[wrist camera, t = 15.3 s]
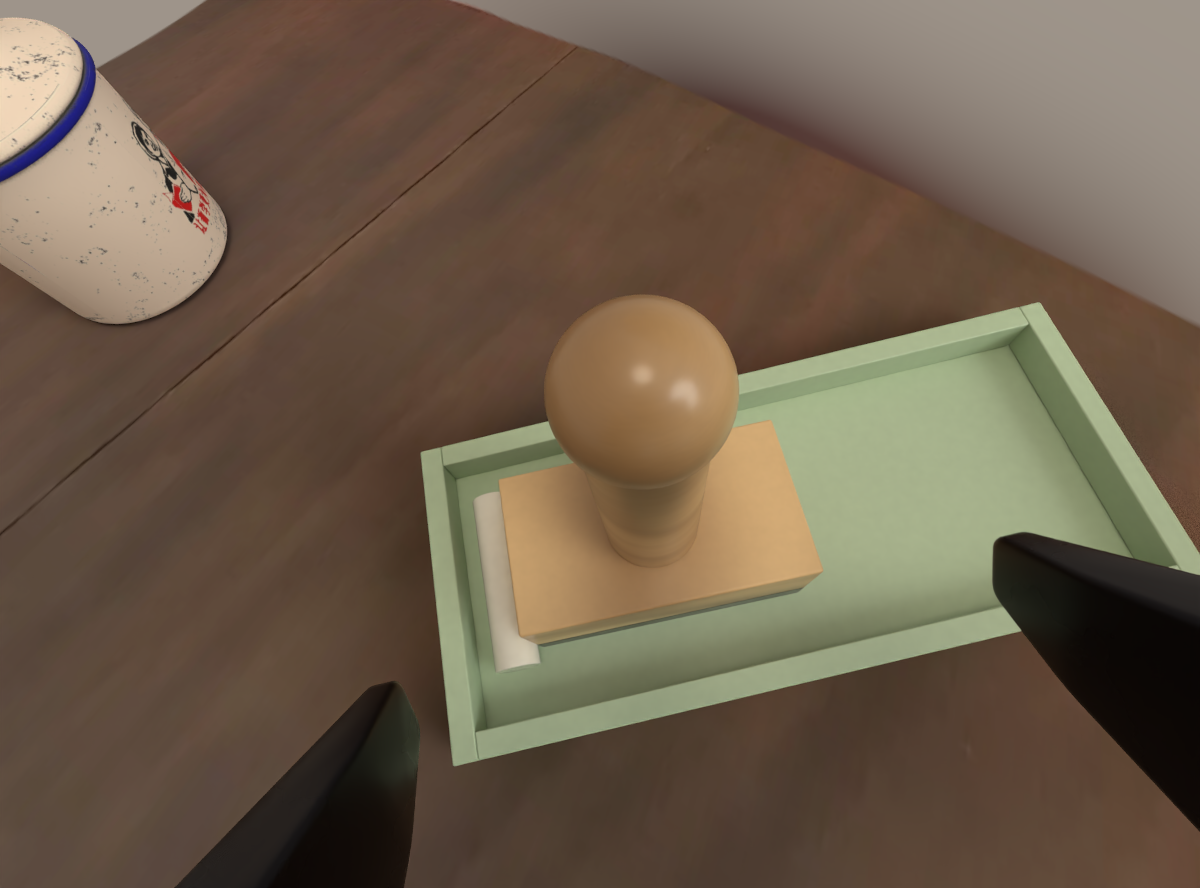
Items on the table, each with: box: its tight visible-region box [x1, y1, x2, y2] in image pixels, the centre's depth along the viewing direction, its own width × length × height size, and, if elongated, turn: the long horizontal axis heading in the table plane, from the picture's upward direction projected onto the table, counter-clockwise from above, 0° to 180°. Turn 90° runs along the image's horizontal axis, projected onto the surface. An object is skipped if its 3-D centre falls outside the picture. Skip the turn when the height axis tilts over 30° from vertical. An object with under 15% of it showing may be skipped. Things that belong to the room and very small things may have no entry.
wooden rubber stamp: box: [498, 294, 823, 647], centre depth 15 cm, size 9×5×14 cm, turn 101°
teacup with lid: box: [0, 18, 227, 324], centre depth 26 cm, size 12×9×12 cm
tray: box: [421, 302, 1200, 766], centre depth 21 cm, size 24×11×2 cm, turn 103°
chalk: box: [473, 492, 541, 674], centre depth 21 cm, size 6×2×2 cm
